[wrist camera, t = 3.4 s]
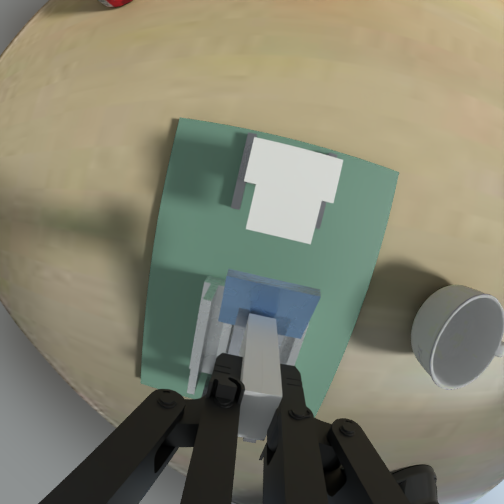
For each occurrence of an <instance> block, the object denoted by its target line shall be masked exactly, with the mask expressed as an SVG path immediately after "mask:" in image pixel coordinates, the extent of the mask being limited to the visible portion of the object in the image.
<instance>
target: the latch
mask: <svg viewBox="0 0 504 504" xmlns="http://www.w3.org/2000/svg"><path fill="white" fill-rule="evenodd" d="M342 164H343V160H342V159H338V158H335V157H332V156H328V155H325V154H321V153H317V152H314V151H310V150H306V149H303V148H299V147H295V146H291V145H287V144H283V143H279V142H274V141H270V140H266V139H261V138H257V137H254V140H253V145H252V149H251V153H250V157H249V161H248V166H247V170H246V174H245V179H244V182H247V183H249V184H254V185H256V186H255V191H254V195H253V199H252V204H251V208H250V212H249V217H248V221H247V225H246V229H248V230H252V231H256V232H261V233H265V234H269V235H273V236H278V237H282V238H286V239H290V240H294V241H299V242H303V243H307V244H311V241H312V237H313V234H314V230H315V226H316V222H317V218H318V214H319V210H320V206H321V202H322V201H325V202H329V203H334V199H335V194H336V190H337V186H338V182H339V177H340V173H341V169H342Z"/></svg>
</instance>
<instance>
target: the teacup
mask: <svg viewBox="0 0 504 504" xmlns="http://www.w3.org/2000/svg"><path fill="white" fill-rule="evenodd" d="M503 333H504V311H503V308H502V305H501V304H500V302H499V301H498V300H497V299H496V298H495V297H494V296H492V295H489V294H484V293H482V292H480V291H477V290H475V289H472V288H469V287H466V286H462V285H450V286H446V287H443V288H441V289H439V290H437V291H436V292H434V293H433V294H432V295H431V296H430V297H429V298H428V299H427V300H426V301H425V302H424V303H423V305H422V306H421V307H420V309H419V311H418V312H417V315H416V317H415V319H414V322H413V325H412V331H411V344H412V349H413V352H414V354H415V356H416V358H417V360H418V361H419V363H420V364H421V365H422V367H423V368H424V369H425V370H426V371H427V373H428V374H429V375H430V376H431V377H432V379H433V381H434V382H435V384H436V385H438V386H439V387H441V388H443V389H447V390H449V389H450V390H452V389H458V388H461V387H464V386H466V385H468V384H469V383H471V382H472V381H474V380H475V379H476V378H478V377H479V376H480V375H481V374H482V373H483V372H484V370H485V369H486V368H487V367H488V365H489V364H490V363H491V361H492V359H493V358H494V356H497V357H502V356H503V355H504V342H502V341H501V340H502V336H503Z"/></svg>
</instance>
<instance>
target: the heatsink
mask: <svg viewBox="0 0 504 504" xmlns="http://www.w3.org/2000/svg"><path fill="white" fill-rule="evenodd" d="M254 137H257V134H254V133H249V132H248V135H247V140H246V144H245V148H244V152H243V156H242V161H241V165H240V169H239V173H238V178H237V182H236V187H235V191H234V195H233V200H232V204H231V208H233V209H237V210H240V209H241V204H242V200H243V196H244V191H245V187H246V183H247V182H244V179H245V174H246V170H247V166H248V161H249V157H250V153H251V149H252V145H253V140H254ZM326 155H328V156H332V157H335V158H337V154H333V153H330V152H329V153H327V154H326ZM325 206H326V202H325V201H322V202H321V206H320V210H319V214H318V218H317V222H316V226H315V228H317V229H320V226H321V222H322V218H323V214H324V210H325ZM225 281H226V280H224V279H220V278H216V277H212V276H207V278H206V280H205V281H204V286H203V291H202V296H201V302H200V307H199V313H198V319H197V324H196V330H195V336H194V342H193V348H192V354H191V360H190V366H189V369H191V370H190V376H189V383H188V389H187V393H189V394H193V395H194V394H195V390H196V387H197V384H198V381H199V378H200V375H201V372H204V373H208V376H207V379H206V383H205V386H204V390H203V393H202V397H203V396H204V395H205V394H206V393H207V389H208V384H209V381H210V379H211V377H212V373H213V369H214V365H215V361H216V357H217V356H219V355H220V354H221V353H227V354H228V351H229V347H230V343H231V338H232V334H233V330H234V326H235V325H231V324H227V323H223V322H219V321H218V319H219V314H220V308H221V303H222V297H223V292H224V287H225ZM308 325H309V323H308ZM308 325H307V327H306V329H305V331H304V333H303V336H302V338H301V339H298V338H293V337H288V336H284V339H283V341H282V343H281V345H280V348H279V358H280V364H286V365H291V366H294V365H295V363H296V360H297V357H298V354H299V351H300V349H301V346H302V343H303V340H304V337H305V334H306V331H307V328H308ZM243 441H247V442H253V443H255V442H256V439H250V438H244V437H243Z"/></svg>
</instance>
